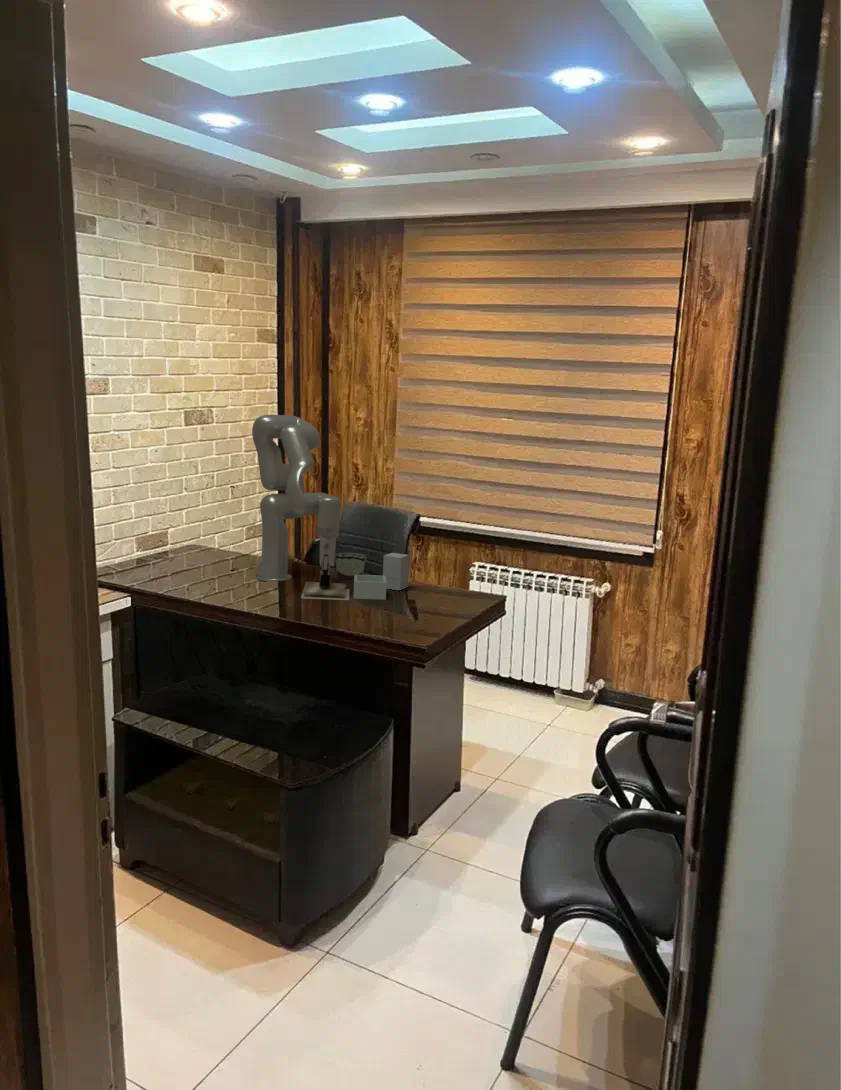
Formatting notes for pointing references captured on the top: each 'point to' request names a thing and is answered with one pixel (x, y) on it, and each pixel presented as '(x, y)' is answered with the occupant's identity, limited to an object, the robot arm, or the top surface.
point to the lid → (324, 588)
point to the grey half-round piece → (349, 565)
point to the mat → (327, 596)
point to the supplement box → (396, 570)
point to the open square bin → (370, 587)
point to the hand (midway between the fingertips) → (325, 583)
